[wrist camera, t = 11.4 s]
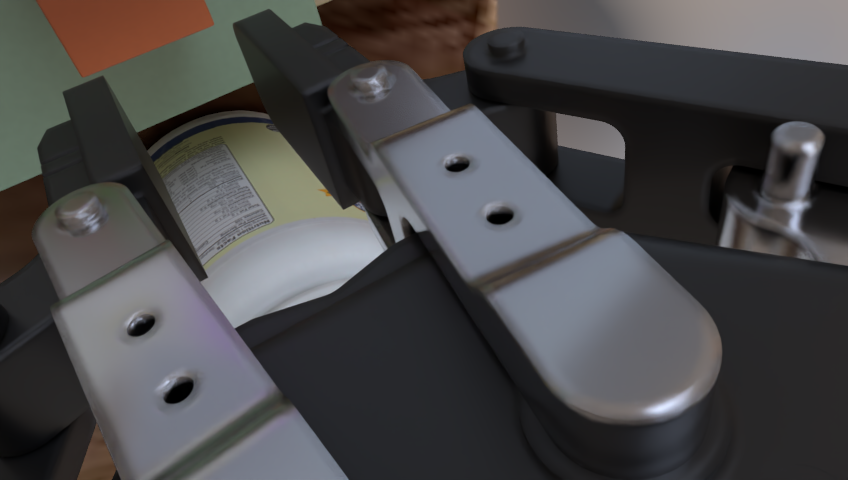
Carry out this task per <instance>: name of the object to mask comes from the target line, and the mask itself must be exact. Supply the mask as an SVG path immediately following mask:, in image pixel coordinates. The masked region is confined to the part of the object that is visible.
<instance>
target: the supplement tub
mask: <svg viewBox="0 0 848 480" xmlns="http://www.w3.org/2000/svg"><path fill="white" fill-rule="evenodd" d="M147 152H148V153H149V155H150V157H151V159H152V161H153V162H154V164H155V166H156V168H157V170H158V172H159V174H160V176H161V178H162V180H163V182H164V184H165V186H166V188H167V190H168V192H169V195H170V197H171V199H172V201H173V203H174V205H175V207H176V210H177V212H178V214H179V216H180V218H181V220H182V222H183V225H184V227H185V229H186V231H187V233H188V235H189V237H190V239H191V242H192V244H193V246H194V248H195V250H196V252H197V254H198V257H199V259H200V261H201V263H202V265H203V267H204V269H205V271H206V274H207V276H208V278H207V279H205V280H203V281H201V284H202V285H203V286H204V288H205V289H206V290H207V292H208V293H209V295H210V296H211V297H212V299H213V300H214V301H215V303H216V304H217V305H218V307H219V308H220V310H221V311H222V312H223V314H224V315H225V316H226V318H227V319H228V320H229V322H230V323H231V325H232V326H233V327H234V328H236V327H238V326H240V325H242V324H244V323H246V322H248V321H249V320H251V319H254V318H257V317H260V316H263V315H266V314H269V313H272V312H275V311H279V310H282V309H285V308H288V307H291V306H294V305H297V304H300V303H303V302H306V301H310V300H313V299H316V298H319V297H322V296H325V295H328V294H330V293H332V292H334V291H335V290H337V289H338V288H340V287H341V286H342V285H343V284H345V283H346V282H347V281H348V280H350V279H351V278H352V277H353V276H354V275H356V274H357V273H358V272H359V271H361V270H362V269H363V268H364V267H366V266H367V265H368V264H369V263H371V262H372V261H373V260H374V259H375V258H377V257H378V256H379V255H380V254H382V253H383V252H384V250H383V249H382V247H381V245H380V243H379V242H378V240H377V238H376V236H375V235H374V233H373V231H372V229H371V227H370V224H369V221H368V218H367V215H366V212H365V209H364V206H363V204H362V203H361V202H358V203H356V204H354V205H352V206H350V207H348V208H346V209H344V210H343V209H342V208H341V206H340V205H339V204H338V203H337V202H336V200H335V199H334V198H333V197H332V195H331V194H330V193H329V192H328V191H327V189H326V188H325V187H324V186H323V184H322V183H321V182H320V181H319V180H318V178H317V177H316V176H315V175H314V173H313V172H312V171H311V170H310V169H309V167H308V166H307V165H306V164H305V163H304V161H303V160H302V159H301V158H300V156H299V155H298V154H297V153H296V152H295V150H294V149H293V148H292V147H291V145H290V144H289V143H288V142H287V141H286V139H285V138H284V137H283V136H282V134H281V133H280V132H279V131H278V130H277V128H276V127H275V125H274V124H273V122H272V121H271V119H270V117H269V115H268V114H265V113H260V112H253V111H243V110H238V111H226V112H220V113H215V114H211V115H207V116H203V117H201V118H198V119H195V120H192V121H190V122H188V123H186V124H183V125H182V126H180V127H178V128H176V129H174V130H172V131H171V132H170V133H168V134H167V135H165V136H164V137H162V138H161V139H160V140H159V141H157V142H156V143H155V144H154V145H153V146H152V147H151V148H150V149H149V150H148V151H147Z"/></svg>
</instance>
